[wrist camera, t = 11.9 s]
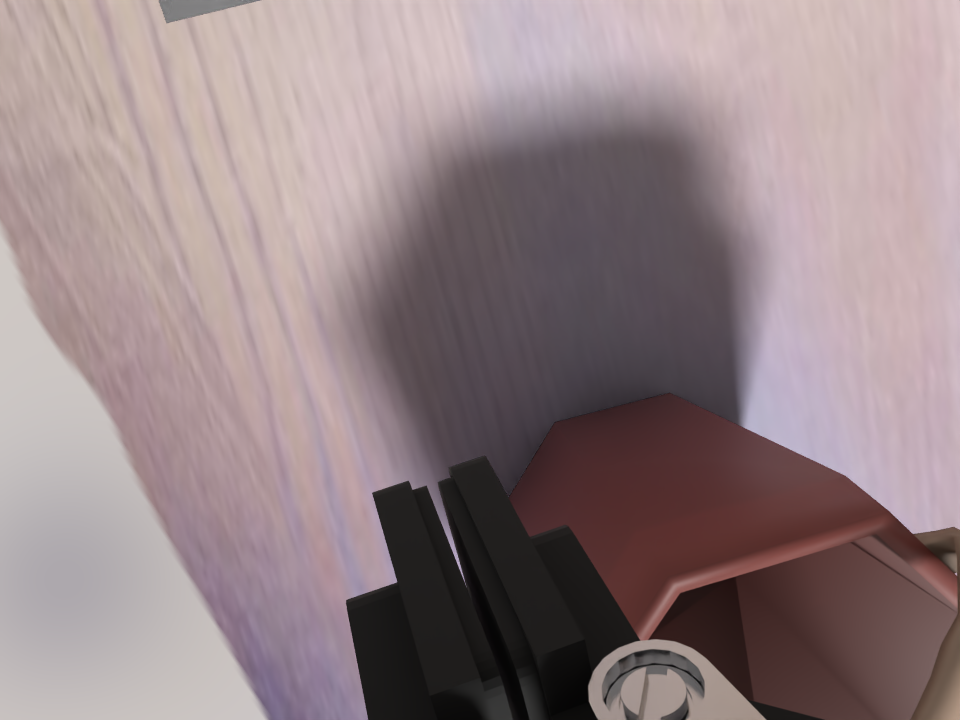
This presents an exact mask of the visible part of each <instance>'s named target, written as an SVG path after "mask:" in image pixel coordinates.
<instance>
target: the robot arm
mask: <svg viewBox="0 0 960 720" xmlns="http://www.w3.org/2000/svg"><path fill="white" fill-rule="evenodd" d="M449 473H450V477H451V478H448V479H445V480H442V481H439V482H438V486H439V490H440V494H441V497H442V501H443V504H444V508H445V511H446V515H447V519H448V522H449V526H450V529H451V533H452V536H453V540H454V543H455V547H456V551H457V554H458V558H459V561H460V565H461V568H462V572H463V575H464V579H465V582H464V580H463V577H462V575H461V572H460V570H459V567H458V565H457V562H456V559H455V557H454V554H453V552H452V549H451V547H450V544H449V542H448V539H447V537H446V534H445V532H444V529H443V526H442V524H441V521H440V519H439V516H438V514H437V511H436V509H435V506H434V504H433V501H432V499H431V496H430V493H429V491H428V488H427V486H424V487H421V488H418V489H415V490H412V488H411V485H410V483H409V481H406V482H403V483H400V484H397V485H394V486H391V487H388V488H385V489H382V490H379V491H376V492H373V493H372V494H373V497H374V501H375V505H376V508H377V512H378V515H379V519H380V522H381V526H382V529H383V533H384V536H385V540H386V543H387V547H388V550H389V554H390V557H391V561H392V564H393V568H394V571H395V575H396V578H397V583H394V584H391V585H389V586H386V587H383V588H380V589H377V590H374V591H371V592H368V593H365V594H362V595H360V596H357V597H354V598H351V599H348V600H346V605H347V611H348V617H349V622H350V627H351V632H352V637H353V642H354V648H355V653H356V658H357V663H358V668H359V674H360V679H361V684H362V689H363V694H364V699H365V705H366V710H367V715H368V720H824V719H820V718H817V717H813V716H809V715H805V714H801V713H797V712H794V711H790V710H786V709H782V708H778V707H774V706H770V705H767V704H763V703H759V702H755V701H751V700H747V699H746V698H745V697H744V696H743V695H742V694H741V693H740V692H739V691H738V690H737V689H736V688H735V687H734V686H733V685H732V684H731V683H730V682H729V681H728V680H727V679H726V678H725V677H724V676H723V675H722V674H721V673H720V672H719V671H718V670H717V669H716V668H715V667H714V666H713V665H712V664H711V663H710V662H709V661H708V660H707V659H706V658H705V657H704V656H702V655H701V654H700V653H698V652H697V651H696V650H694V649H693V648H691V647H688V646H685V645H683V644H680V643H677V642H675V641H666V640H658V639H653V640H644V641H641V640H640V639H639V637H638V636H637V634H636V632H635V631H634V629H633V628H632V626H631V624H630V623H629V621H628V620H627V618H626V616H625V615H624V613H623V612H622V610H621V608H620V607H619V605H618V604H617V602H616V600H615V599H614V597H613V596H612V594H611V592H610V591H609V589H608V587H607V586H606V584H605V583H604V581H603V579H602V578H601V576H600V575H599V573H598V571H597V570H596V568H595V567H594V565H593V563H592V562H591V560H590V559H589V557H588V555H587V554H586V552H585V551H584V549H583V547H582V546H581V544H580V543H579V541H578V539H577V538H576V536H575V535H574V533H573V532H572V530H571V529H570V527H569V526H567V525H563V526H560V527H557V528H554V529H551V530H548V531H545V532H542V533H539V534H536V535H534V536H531V537H529V535H528V533H527V531H526V530H525V528H524V526H523V524H522V522H521V520H520V518H519V517H518V515H517V513H516V511H515V509H514V507H513V505H512V504H511V502H510V500H509V498H508V496H507V494H506V493H505V491H504V489H503V487H502V485H501V483H500V481H499V480H498V478H497V476H496V474H495V472H494V470H493V468H492V467H491V465H490V463H489V461H488V459H487V458H486V456H482V457H479V458H476V459H473V460H470V461H467V462H464V463H461V464H458V465H455V466H452V467H449ZM465 583H466V585H465ZM466 586H467V587H466Z"/></svg>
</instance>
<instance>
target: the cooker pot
mask: <svg viewBox="0 0 960 720" xmlns="http://www.w3.org/2000/svg"><path fill="white" fill-rule="evenodd" d="M256 1H260V0H159V3H160V6H161V9H162V11H163V14H164V17H165V20H166V23H170V22H174V21H178V20H182V19H186V18H190V17H194V16H198V15H202V14H207V13H211V12H215V11H219V10H223V9H227V8H231V7H235V6H239V5H243V4H247V3H252V2H256Z"/></svg>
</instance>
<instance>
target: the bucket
mask: <svg viewBox="0 0 960 720" xmlns="http://www.w3.org/2000/svg"><path fill="white" fill-rule="evenodd" d="M509 500H510V502H511V504H512V505H513V507H514V509H515V511H516V513H517V515H518V517H519V518H520V520H521V522H522V524H523V526H524V528H525V530H526V531H527V533H528V535H529V537H531V536H534V535H536V534H539V533H542V532H545V531H548V530H551V529H554V528H557V527H560V526H563V525H567V526H569V527H570V529H571V530H572V532H573V533H574V535H575V536H576V538H577V539H578V541H579V543H580V544H581V546H582V547H583V549H584V551H585V552H586V554H587V555H588V557H589V559H590V560H591V562H592V563H593V565H594V567H595V568H596V570H597V571H598V573H599V575H600V576H601V578H602V579H603V581H604V583H605V584H606V586H607V587H608V589H609V591H610V592H611V594H612V596H613V597H614V599H615V600H616V602H617V604H618V605H619V607H620V608H621V610H622V612H623V613H624V615H625V616H626V618H627V620H628V621H629V623H630V624H631V626H632V628H633V629H634V631H635V632H636V634H637V636H638V637H639V639H640V640H641V641H644V640H653V639H658V640H666V641H675V642H677V643H680V644H683V645H685V646H688V647H691V648H693V649H694V650H696V651H697V652H698V653H700V654H701V655H702V656H704V657H705V658H706V659H707V660H708V661H709V662H710V663H711V664H712V665H713V666H714V667H715V668H716V669H717V670H718V671H719V672H720V673H721V674H722V675H723V676H724V677H725V678H726V679H727V680H728V681H729V682H730V683H731V684H732V685H733V686H734V687H735V688H736V689H737V690H738V691H739V692H740V693H741V694H742V695H743V696H744V697H745V698H746V699H747V700H751V701H755V702H759V703H763V704H767V705H770V706H774V707H778V708H782V709H786V710H790V711H794V712H797V713H801V714H805V715H809V716H813V717H817V718H820V719H824V720H960V530H959V529H957V528H955V527H951V528H946V529H942V530H937V531H931V532H925V533H918V534H912V533H911V532H910V531H909V530H908V529H907V528H906V527H905V526H904V525H903V524H902V523H901V522H900V521H899V520H898V519H897V518H895V517H894V516H893V515H892V514H891V513H890V512H889V511H888V510H887V509H886V508H884V507H883V506H882V505H881V504H879V503H878V502H877V501H876V500H874V499H873V498H872V497H871V496H870V495H868V494H867V493H866V492H865V491H863V490H862V489H861V488H860V487H858V486H857V485H856V484H855V483H853V482H852V481H851V480H850V479H849V478H847V477H846V476H844V475H842V474H840V473H838V472H836V471H834V470H832V469H830V468H828V467H825V466H823V465H821V464H819V463H817V462H815V461H813V460H811V459H809V458H806V457H804V456H802V455H800V454H798V453H796V452H794V451H792V450H790V449H787V448H785V447H783V446H781V445H779V444H777V443H775V442H773V441H771V440H768V439H766V438H764V437H762V436H760V435H758V434H756V433H754V432H751V431H749V430H747V429H745V428H743V427H741V426H739V425H737V424H735V423H732V422H730V421H728V420H726V419H724V418H722V417H720V416H718V415H716V414H713V413H711V412H709V411H707V410H705V409H703V408H701V407H699V406H697V405H694V404H692V403H690V402H688V401H686V400H684V399H682V398H680V397H678V396H675V395H673V394H671V393H667V394H663V395H659V396H655V397H651V398H647V399H644V400H640V401H636V402H632V403H628V404H624V405H620V406H616V407H612V408H609V409H605V410H601V411H597V412H593V413H589V414H585V415H581V416H577V417H574V418H570V419H566V420H562V421H558V422H555V423H554V425H553V426H552V428H551V429H550V431H549V433H548V434H547V436H546V438H545V439H544V441H543V442H542V444H541V446H540V447H539V449H538V451H537V452H536V454H535V456H534V457H533V459H532V460H531V462H530V464H529V465H528V467H527V469H526V470H525V472H524V474H523V475H522V477H521V478H520V480H519V482H518V483H517V485H516V487H515V488H514V490H513V491H512V493H511V495H510V496H509ZM954 573H957V576H956V575H955V574H954Z"/></svg>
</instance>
